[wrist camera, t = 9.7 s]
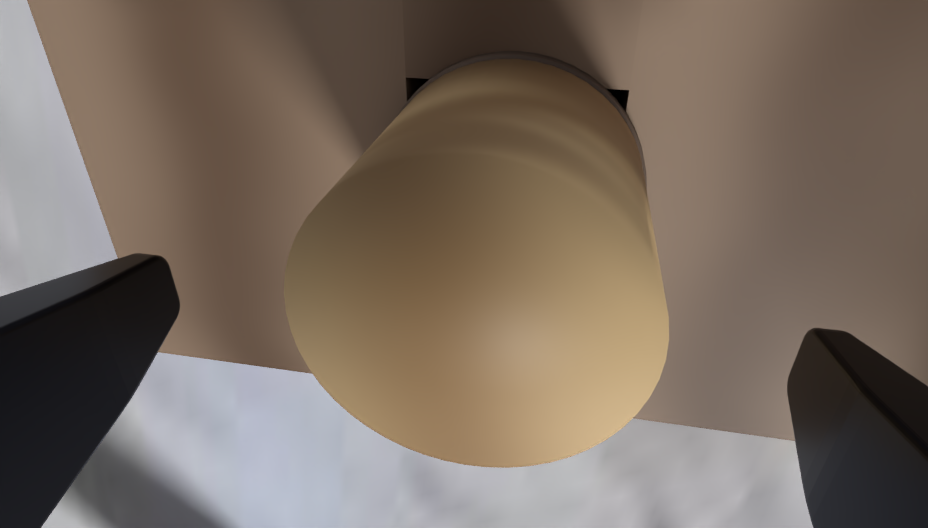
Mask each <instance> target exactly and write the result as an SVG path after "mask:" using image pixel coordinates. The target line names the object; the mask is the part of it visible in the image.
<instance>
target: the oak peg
mask: <svg viewBox="0 0 928 528" xmlns="http://www.w3.org/2000/svg"><path fill="white" fill-rule="evenodd" d="M284 298H285V307H286V314H287V318H288V322H289V326H290V329H291V333H292V335H293V338H294V340H295V343H296V345H297V347H298V350H299V352H300V354H301V355H302V357H303V359H304V361H305V362H306V364H307V366H308V368H309V369H310V371H311V372H312V373H313V375H314V376H315V377H316V379H317V380H318V382H319V383H320V384H321V385H322V387H323V388H324V389H325V390H326V391H327V392H328V393H329V394H330V395H331V397H332V398H333V399H334V400H335V401H336V402H337V403H339V404H340V405H341V406H342V407H343V408H344V409H345V410H346V411H347V412H349V413H350V414H351V415H352V416H354V417H355V418H356V419H358V420H359V421H360V422H362V423H363V424H364V425H366V426H367V427H369V428H370V429H372V430H374V431H375V432H377V433H379V434H380V435H382V436H384V437H385V438H387V439H389V440H391V441H393V442H395V443H397V444H399V445H402V446H404V447H406V448H409V449H411V450H414V451H416V452H419V453H421V454H424V455H427V456H431V457H434V458H438V459H441V460H445V461H450V462H454V463H459V464H464V465H473V466H481V467H505V468H508V467H523V466H532V465H538V464H544V463H550V462H553V461H557V460H560V459H564V458H568V457H571V456H573V455H576V454H578V453H581V452H583V451H586V450H588V449H590V448H592V447H594V446H596V445H597V444H599V443H601V442H603V441H605V440H607V439H608V438H609V437H611V436H612V435H613V434H615V433H616V432H618V431H619V430H620V429H622V428H623V427H624V426H625V425H626V424H627V423H628V422H629V421H630V420H631V419H632V418H633V417H634V416H635V415H636V414H638V412H639V411H640V410H641V408H642V407H643V406H644V404H645V403H646V402H647V400H648V399H649V398H650V396H651V394H652V392H653V391H654V389H655V387H656V385H657V383H658V381H659V379H660V376H661V373H662V370H663V367H664V364H665V361H666V357H667V350H668V343H669V316H668V310H667V304H666V298H665V293H664V287H663V281H662V275H661V270H660V264H659V258H658V252H657V247H656V241H655V235H654V229H653V224H652V218H651V212H650V206H649V201H648V195H647V178H646V167H645V162H644V157H643V151H642V146H641V143H640V140H639V138H638V135H637V132H636V129H635V127H634V126H633V124H632V122H631V120H630V118H629V116H628V114H627V113H626V111H625V110H624V109H623V107H622V106H621V104H620V103H619V102H618V100H617V99H616V98H615V97H614V96H613V95H612V94H611V93H610V92H609V91H608V90H607V89H606V88H605V87H604V86H603V85H602V84H601V83H599V82H598V81H597V80H596V79H594V78H593V77H592V76H590V75H589V74H587V73H586V72H584V71H582V70H580V69H579V68H577V67H575V66H574V65H571V64H569V63H566V62H564V61H562V60H559V59H557V58H554V57H550V56H546V55H542V54H538V53H531V52H523V51H498V52H492V53H485V54H480V55H477V56H473V57H470V58H467V59H463V60H461V61H459V62H457V63H455V64H453V65H450V66H448V67H446V68H445V69H443V70H442V71H440V72H439V73H437V74H436V75H434V76H432V77H431V78H430V79H429V80H428V81H427V82H426V83H424V84H423V85H422V86H421V87H420V88H419V89H418V90H417V91H416V92H415V93H414V94H413V95H412V97H411V98H410V99H409V100H408V101H407V102H406V104H405V105H404V106H403V107H402V109H401V110H400V112H399V114H398V115H397V117H396V118H395V119H394V120H393V121H392V123H391V124H390V125H389V126H388V127H387V128H386V129H385V130H384V131H383V132H382V134H381V135H380V136H379V137H378V138H377V139H376V140H375V141H374V142H373V143H372V145H371V146H370V147H369V148H368V149H367V150H366V151H365V152H364V153H363V155H362V156H361V157H360V158H359V159H358V160H357V161H356V162H355V163H354V164H353V166H352V167H351V168H350V169H349V170H348V171H347V172H346V173H345V174H344V175H343V177H342V178H341V179H340V180H339V181H338V182H337V183H336V184H335V185H334V186H333V188H332V189H331V190H330V191H329V192H328V193H327V194H326V195H325V196H324V198H323V199H322V200H321V201H320V202H319V203H318V204H317V206H316V207H315V208H314V209H313V210H312V211H311V213H310V214H309V215H308V216H307V218H306V219H305V221H304V223H303V224H302V226H301V228H300V229H299V231H298V233H297V234H296V237H295V239H294V242H293V244H292V247H291V250H290V252H289V255H288V260H287V265H286V270H285V280H284Z"/></svg>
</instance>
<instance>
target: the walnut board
mask: <svg viewBox="0 0 928 528" xmlns="http://www.w3.org/2000/svg"><path fill="white" fill-rule="evenodd" d="M27 1H28V4H29V7H30V10H31V12H32V15H33V18H34V21H35V24H36V27H37V29H38V32H39V35H40V38H41V41H42V44H43V47H44V49H45V52H46V55H47V58H48V61H49V64H50V66H51V69H52V72H53V75H54V78H55V81H56V84H57V86H58V89H59V92H60V95H61V98H62V101H63V103H64V106H65V109H66V112H67V115H68V118H69V120H70V123H71V126H72V129H73V132H74V135H75V138H76V140H77V143H78V146H79V149H80V152H81V155H82V157H83V160H84V163H85V166H86V169H87V172H88V175H89V177H90V180H91V183H92V186H93V189H94V192H95V194H96V197H97V200H98V203H99V206H100V209H101V212H102V214H103V217H104V220H105V223H106V226H107V229H108V231H109V234H110V237H111V240H112V243H113V246H114V248H115V251H116V254H117V257H118V258H121V257H125V256H128V255H131V254H135V253H143V254H152V255H159V256H162V257H164V258H165V259H166V260H167V262H168V264H169V266H170V269H171V273H172V276H173V279H174V282H175V286H176V289H177V292H178V296H179V299H180V311H179V314H178V317H177V319H176V321H175V322H174V324H173V326H172V328H171V330H170V331H169V333H168V335H167V337H166V338H165V340H164V342H163V344H162V346H161V347H160V349H159V351H158V352H161V353H169V354H176V355H183V356H190V357H197V358H204V359H212V360H219V361H226V362H233V363H240V364H247V365H255V366H262V367H269V368H276V369H283V370H291V371H298V372H305V373H312V372H311V371H310V369H309V368H308V366H307V364H306V362H305V361H304V359H303V357H302V355H301V354H300V352H299V350H298V347H297V345H296V343H295V340H294V338H293V335H292V333H291V329H290V326H289V322H288V318H287V314H286V307H285V298H284V280H285V270H286V265H287V260H288V255H289V252H290V250H291V247H292V244H293V242H294V239H295V237H296V234H297V233H298V231H299V229H300V228H301V226H302V224H303V223H304V221H305V219H306V218H307V216H308V215H309V214H310V213H311V211H312V210H313V209H314V208H315V207H316V206H317V204H318V203H319V202H320V201H321V200H322V199H323V198H324V196H325V195H326V194H327V193H328V192H329V191H330V190H331V189H332V188H333V186H334V185H335V184H336V183H337V182H338V181H339V180H340V179H341V178H342V177H343V175H344V174H345V173H346V172H347V171H348V170H349V169H350V168H351V167H352V166H353V164H354V163H355V162H356V161H357V160H358V159H359V158H360V157H361V156H362V155H363V153H364V152H365V151H366V150H367V149H368V148H369V147H370V146H371V145H372V143H373V142H374V141H375V140H376V139H377V138H378V137H379V136H380V135H381V134H382V132H383V131H384V130H385V129H386V128H387V127H388V126H389V125H390V124H391V123H392V121H393V120H394V119H395V118H396V117H397V115H398V114H399V112H400V110H401V109H402V107H403V106H404V105H405V104H406V102H407V101H408V100H409V99H410V98H411V97H412V95H413V94H414V93H415V92H416V91H417V90H418V89H419V88H420V87H421V86H422V85H423V84H424V83H426V82H427V81H428V80H429V79H430V78H431V77H432V76H434V75H436V74H437V73H439V72H440V71H442V70H443V69H445V68H446V67H448V66H450V65H453V64H455V63H457V62H459V61H461V60H463V59H467V58H470V57H473V56H477V55H480V54H485V53H492V52H498V51H523V52H531V53H538V54H542V55H546V56H550V57H554V58H557V59H559V60H562V61H564V62H566V63H569V64H571V65H574V66H575V67H577V68H579V69H580V70H582V71H584V72H586V73H587V74H589V75H590V76H592V77H593V78H594V79H596V80H597V81H598V82H599V83H601V84H602V85H603V86H604V87H605V88H606V89H619V90H621V94H620V101H619V103H620V104H621V106H622V107H623V109H624V110H625V111H626V113H627V114H628V116H629V118H630V120H631V122H632V124H633V126H634V127H635V129H636V132H637V135H638V138H639V140H640V143H641V146H642V151H643V157H644V162H645V167H646V178H647V195H648V201H649V206H650V212H651V218H652V224H653V229H654V235H655V241H656V247H657V252H658V258H659V264H660V270H661V275H662V281H663V287H664V293H665V298H666V304H667V310H668V316H669V343H668V350H667V357H666V361H665V364H664V367H663V370H662V373H661V376H660V379H659V381H658V383H657V385H656V387H655V389H654V391H653V392H652V394H651V396H650V398H649V399H648V400H647V402H646V403H645V404H644V406H643V407H642V408H641V410H640V411H639V412H638V414H636V415H635V416H634V417H633V418H635V419H642V420H649V421H656V422H663V423H671V424H678V425H685V426H692V427H699V428H706V429H714V430H721V431H728V432H735V433H742V434H749V435H757V436H764V437H771V438H778V439H785V440H792V441H795V437H794V431H793V425H792V419H791V413H790V407H789V402H788V396H787V381H788V377H789V374H790V371H791V368H792V366H793V363H794V361H795V358H796V356H797V353H798V351H799V348H800V345H801V343H802V340H803V338H804V336H805V334H806V333H807V332H808V330H810V329H812V328H824V329H833V330H842V331H846V332H848V333H850V334H852V335H853V336H855V337H856V338H858V339H859V340H861V341H862V342H863V343H865V344H866V345H868V346H869V347H871V348H872V349H874V350H875V351H877V352H878V353H880V354H881V355H883V356H884V357H886V358H887V359H889V360H890V361H892V362H893V363H894V364H896V365H897V366H899V367H900V368H902V369H903V370H905V371H906V372H908V373H909V374H911V375H912V376H914V377H915V378H917V379H918V380H920V381H921V382H923V383H924V384H926V385H927V386H928V0H27ZM312 374H313V373H312Z"/></svg>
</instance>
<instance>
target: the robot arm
mask: <svg viewBox="0 0 928 528" xmlns="http://www.w3.org/2000/svg"><path fill="white" fill-rule="evenodd" d="M179 311H180V299H179V296H178V292H177V289H176V286H175V282H174V279H173V276H172V273H171V269H170V266H169V264H168V262H167V260H166V259H165V258H164V257H162V256H159V255H152V254H143V253H135V254H131V255H128V256H125V257H121V258H118V259H115V260H112V261H109V262H106V263H103V264H100V265H97V266H94V267H91V268H87V269H84V270H81V271H78V272H75V273H72V274H69V275H66V276H63V277H60V278H57V279H54V280H50V281H47V282H44V283H41V284H38V285H35V286H32V287H29V288H26V289H23V290H20V291H16V292H13V293H10V294H7V295H4V296H1V297H0V528H41V527H42V525H43V524H44V523H45V521H46V520H47V518H48V517H49V515H50V514H51V513H52V511H53V510H54V508H55V507H56V506H57V504H58V503H59V501H60V500H61V498H62V497H63V496H64V494H65V493H66V491H67V490H68V488H69V487H70V486H71V484H72V483H73V481H74V480H75V479H76V477H77V476H78V474H79V473H80V471H81V470H82V469H83V467H84V466H85V464H86V463H87V461H88V460H89V459H90V457H91V456H92V454H93V453H94V451H95V450H96V449H97V447H98V446H99V444H100V443H101V442H102V440H103V439H104V437H105V436H106V434H107V433H108V432H109V430H110V429H111V427H112V426H113V424H114V423H115V422H116V420H117V419H118V417H119V416H120V415H121V413H122V412H123V410H124V409H125V407H126V406H127V404H128V403H129V401H130V400H131V398H132V396H133V395H134V393H135V391H136V390H137V388H138V386H139V385H140V383H141V381H142V379H143V377H144V376H145V374H146V372H147V370H148V369H149V367H150V365H151V363H152V362H153V360H154V358H155V356H156V354H157V353H158V351H159V349H160V347H161V346H162V344H163V342H164V340H165V338H166V337H167V335H168V333H169V331H170V330H171V328H172V326H173V324H174V322H175V321H176V319H177V317H178V314H179ZM787 396H788V402H789V407H790V413H791V419H792V425H793V431H794V437H795V442H796V448H797V454H798V460H799V466H800V472H801V478H802V483H803V488H804V493H805V498H806V503H807V506H808V510H809V514H810V518H811V521H812V525H813V528H928V386H927V385H926V384H924V383H923V382H921V381H920V380H918V379H917V378H915V377H914V376H912V375H911V374H909V373H908V372H906V371H905V370H903V369H902V368H900V367H899V366H897V365H896V364H894V363H893V362H892V361H890V360H889V359H887V358H886V357H884V356H883V355H881V354H880V353H878V352H877V351H875V350H874V349H872V348H871V347H869V346H868V345H866V344H865V343H863V342H862V341H861V340H859V339H858V338H856V337H855V336H853V335H852V334H850V333H848V332H846V331H842V330H833V329H824V328H812V329H810V330H808V332H807V333H806V334H805V336H804V338H803V340H802V343H801V345H800V348H799V351H798V353H797V356H796V358H795V361H794V363H793V366H792V368H791V371H790V374H789V377H788V381H787Z"/></svg>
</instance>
